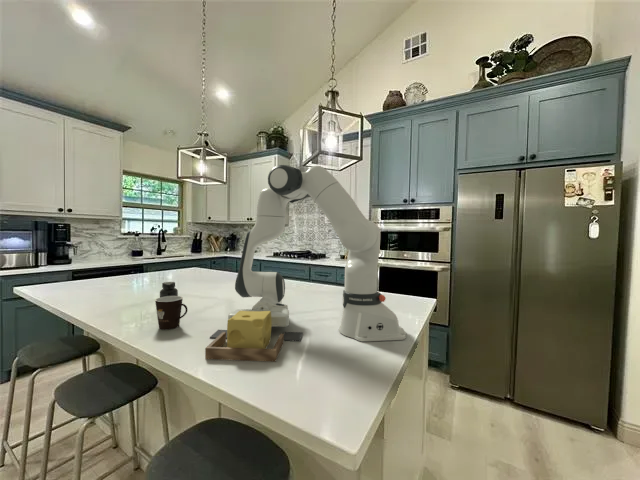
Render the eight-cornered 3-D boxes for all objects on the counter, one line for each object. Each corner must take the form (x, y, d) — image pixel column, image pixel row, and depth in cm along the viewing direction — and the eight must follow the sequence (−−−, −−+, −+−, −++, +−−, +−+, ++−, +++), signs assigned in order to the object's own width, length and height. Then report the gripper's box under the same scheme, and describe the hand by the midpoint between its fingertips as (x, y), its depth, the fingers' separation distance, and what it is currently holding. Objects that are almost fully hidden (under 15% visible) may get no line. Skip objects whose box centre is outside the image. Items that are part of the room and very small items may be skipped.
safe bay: (283, 343, 90) (283, 333, 90) (275, 361, 77) (275, 350, 77) (222, 341, 91) (222, 331, 91) (205, 359, 78) (205, 348, 78)
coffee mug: (152, 326, 103) (151, 298, 103) (177, 321, 109) (177, 294, 109) (162, 335, 95) (162, 304, 95) (189, 329, 101) (189, 300, 101)
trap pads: (302, 333, 99) (302, 332, 99) (300, 341, 92) (300, 340, 92) (218, 330, 100) (218, 329, 100) (209, 338, 93) (209, 337, 93)
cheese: (262, 356, 80) (262, 321, 80) (224, 354, 81) (224, 319, 81) (271, 342, 91) (272, 310, 90) (238, 340, 92) (238, 309, 91)
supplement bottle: (161, 309, 125) (161, 281, 124) (179, 308, 127) (179, 280, 126) (158, 313, 118) (157, 284, 118) (176, 312, 120) (176, 283, 120)
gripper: (235, 303, 105) (220, 314, 91) (292, 305, 104) (285, 316, 90) (235, 320, 105) (220, 334, 91) (291, 322, 104) (285, 336, 91)
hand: (253, 325), depth 91 cm, fingers closed
